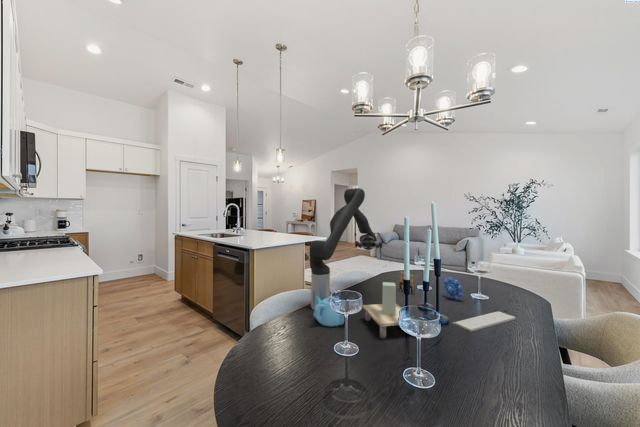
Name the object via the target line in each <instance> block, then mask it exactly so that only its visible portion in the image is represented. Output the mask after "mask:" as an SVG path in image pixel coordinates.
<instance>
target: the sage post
mask: <svg viewBox="0 0 640 427" xmlns="http://www.w3.org/2000/svg"><path fill="white" fill-rule="evenodd" d="M396 292H397V285H396V283H395V282H390V281H389V282H387V281H382V292H381V293H382V296H381V298H382V300H381V301H382V303H381V304H382V311H383V314H384V315H396V304H397V302H396V301H397V295H396V294H397V293H396Z"/></svg>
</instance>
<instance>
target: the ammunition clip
mask: <svg viewBox="0 0 640 427" xmlns="http://www.w3.org/2000/svg"><path fill="white" fill-rule="evenodd" d="M404 273H405V270H404V271H402V270H401V271H400V277H399V279H400V280H399V286H398V287H399V289H401V290H402V291H401V292H403V279H404ZM409 274H410V288H411V294H416V293H415V280H414V274H413V273H409ZM411 294H410V295H411Z"/></svg>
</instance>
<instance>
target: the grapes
mask: <svg viewBox="0 0 640 427" xmlns="http://www.w3.org/2000/svg"><path fill="white" fill-rule="evenodd" d="M443 281H444V283H442V288H444V294H446V295H447V296H449V298H450V299H451V300H456V301H460V300H461V298H463V297H464V295H465V294H464V292H463V290H464V287H463V286H462V285H461V284H460V281H459V280H458V279H454V278H453V277H452V276H449V277H448V278H444V280H443Z"/></svg>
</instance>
